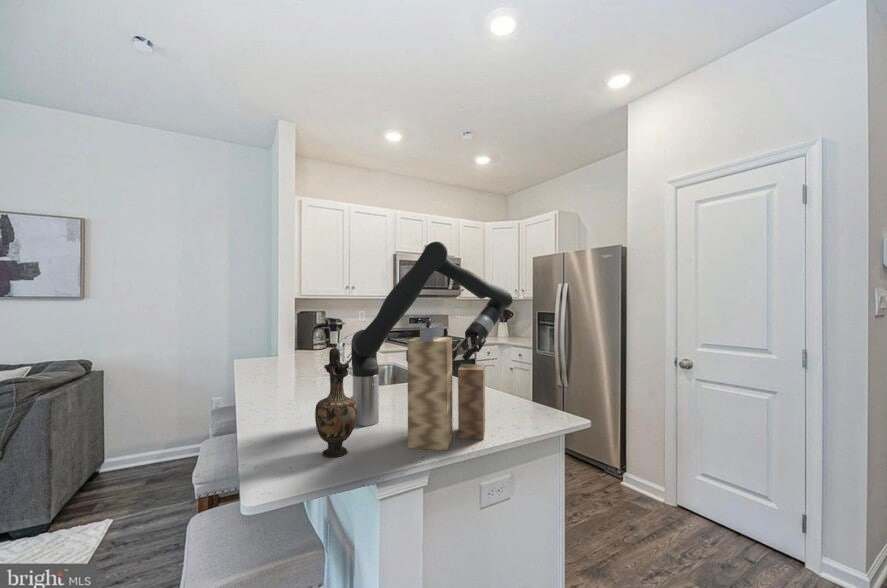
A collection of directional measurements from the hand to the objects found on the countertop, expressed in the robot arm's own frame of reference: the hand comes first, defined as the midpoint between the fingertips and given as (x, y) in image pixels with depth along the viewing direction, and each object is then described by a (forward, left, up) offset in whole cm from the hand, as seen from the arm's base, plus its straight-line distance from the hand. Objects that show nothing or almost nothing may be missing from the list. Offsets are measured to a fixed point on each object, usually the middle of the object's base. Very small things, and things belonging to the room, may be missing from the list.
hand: (456, 360), depth 132 cm
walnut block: (+6, -4, -23) cm, 24 cm away
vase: (-32, -25, -24) cm, 47 cm away
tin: (-6, -10, +9) cm, 14 cm away
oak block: (-6, -13, -23) cm, 28 cm away
